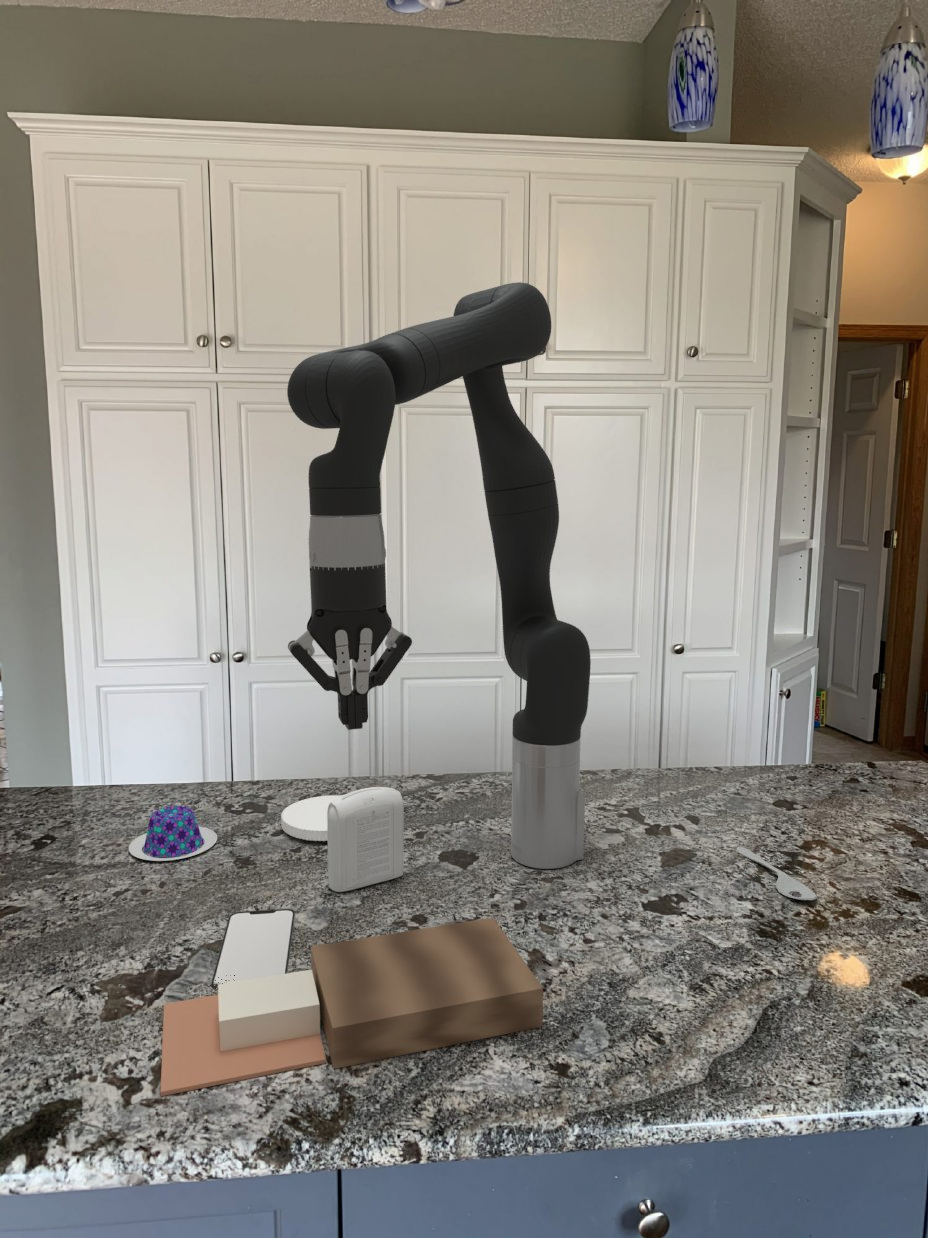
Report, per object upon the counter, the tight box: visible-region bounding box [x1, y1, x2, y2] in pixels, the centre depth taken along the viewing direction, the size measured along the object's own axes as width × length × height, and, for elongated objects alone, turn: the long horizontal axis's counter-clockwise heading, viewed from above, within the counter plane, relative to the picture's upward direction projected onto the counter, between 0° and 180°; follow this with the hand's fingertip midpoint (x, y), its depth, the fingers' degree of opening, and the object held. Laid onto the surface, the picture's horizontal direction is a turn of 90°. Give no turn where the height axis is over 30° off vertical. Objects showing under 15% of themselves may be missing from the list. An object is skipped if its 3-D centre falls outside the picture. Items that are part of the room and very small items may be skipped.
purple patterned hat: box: [128, 805, 218, 862], centre depth 123 cm, size 12×12×5 cm
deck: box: [310, 917, 544, 1070], centre depth 86 cm, size 20×14×4 cm
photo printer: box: [327, 786, 405, 893], centre depth 111 cm, size 10×4×12 cm, turn 123°
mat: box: [160, 994, 327, 1097], centre depth 81 cm, size 14×13×1 cm
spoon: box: [736, 846, 818, 901], centre depth 116 cm, size 4×21×2 cm, turn 11°
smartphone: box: [210, 908, 296, 991], centre depth 97 cm, size 8×1×16 cm
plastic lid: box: [280, 794, 343, 842], centre depth 130 cm, size 14×14×2 cm
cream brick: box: [217, 969, 321, 1051], centre depth 82 cm, size 9×6×3 cm, turn 107°
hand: (353, 727), depth 89 cm, fingers closed
